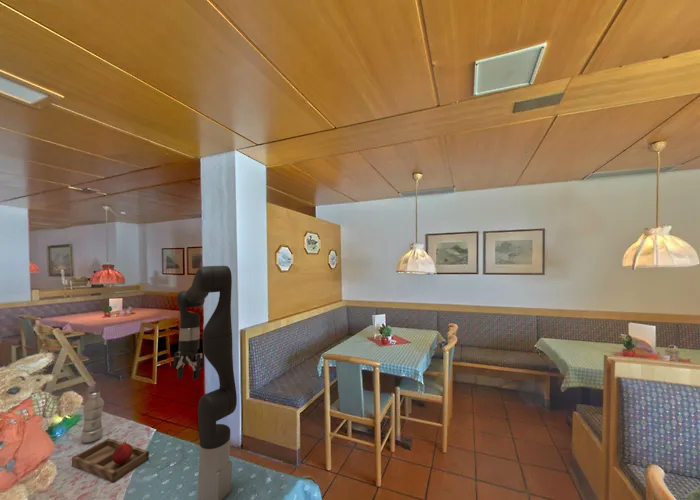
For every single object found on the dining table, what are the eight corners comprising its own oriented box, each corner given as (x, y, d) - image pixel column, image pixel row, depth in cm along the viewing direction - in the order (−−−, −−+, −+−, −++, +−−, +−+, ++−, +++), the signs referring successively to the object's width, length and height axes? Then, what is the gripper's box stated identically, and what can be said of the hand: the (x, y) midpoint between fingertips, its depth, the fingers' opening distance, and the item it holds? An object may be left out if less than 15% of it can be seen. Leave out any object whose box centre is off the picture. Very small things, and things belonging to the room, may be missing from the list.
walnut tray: (148, 459, 107) (148, 451, 107) (113, 482, 96) (114, 473, 96) (108, 445, 115) (108, 438, 115) (71, 466, 103) (72, 457, 103)
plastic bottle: (84, 437, 120) (87, 390, 120) (104, 433, 122) (107, 387, 123) (77, 447, 114) (80, 397, 114) (99, 442, 116) (101, 393, 117)
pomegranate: (120, 470, 100) (122, 447, 101) (107, 468, 101) (109, 445, 102) (135, 459, 106) (137, 438, 106) (123, 457, 107) (124, 435, 107)
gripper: (168, 339, 116) (166, 380, 114) (194, 340, 112) (192, 383, 110) (184, 336, 123) (183, 374, 121) (209, 337, 119) (208, 377, 117)
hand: (187, 378), depth 116 cm, fingers open, 8 cm apart
